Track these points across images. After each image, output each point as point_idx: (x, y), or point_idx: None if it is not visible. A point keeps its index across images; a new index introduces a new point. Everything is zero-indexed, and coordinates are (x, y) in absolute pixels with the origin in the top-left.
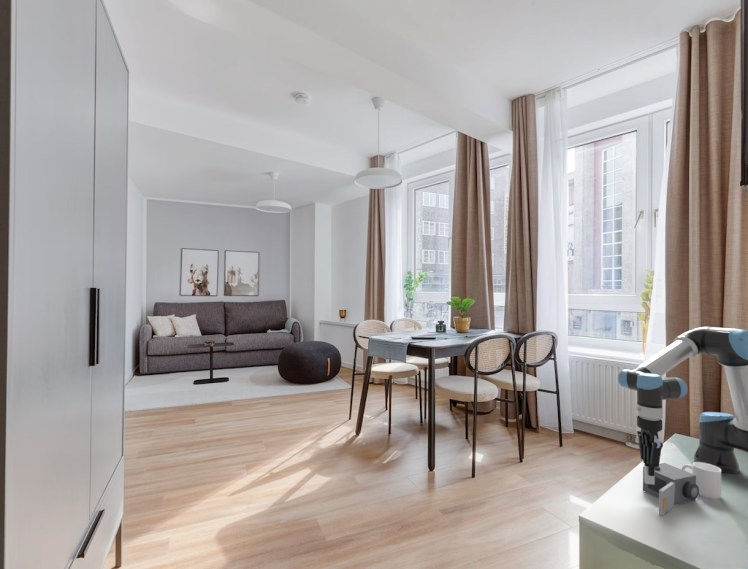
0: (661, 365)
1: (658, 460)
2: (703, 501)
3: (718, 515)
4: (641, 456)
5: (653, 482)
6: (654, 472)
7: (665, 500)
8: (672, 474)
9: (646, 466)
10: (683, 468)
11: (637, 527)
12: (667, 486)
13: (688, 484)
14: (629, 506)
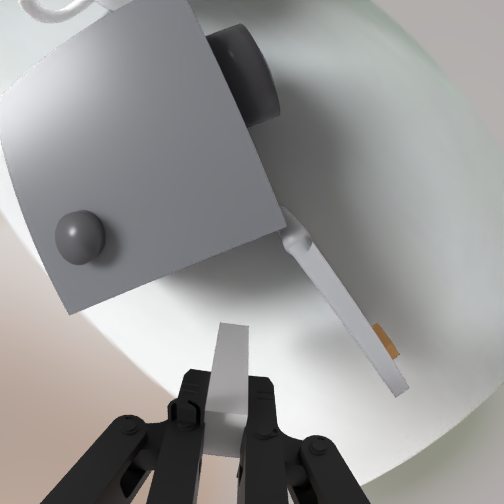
0: None
1: (359, 500)
2: (214, 20)
3: (345, 51)
4: (136, 474)
5: (246, 338)
6: (247, 377)
7: (395, 348)
8: (171, 160)
9: (239, 452)
10: (30, 3)
11: (406, 421)
12: (361, 328)
13: (249, 83)
14: (290, 398)
